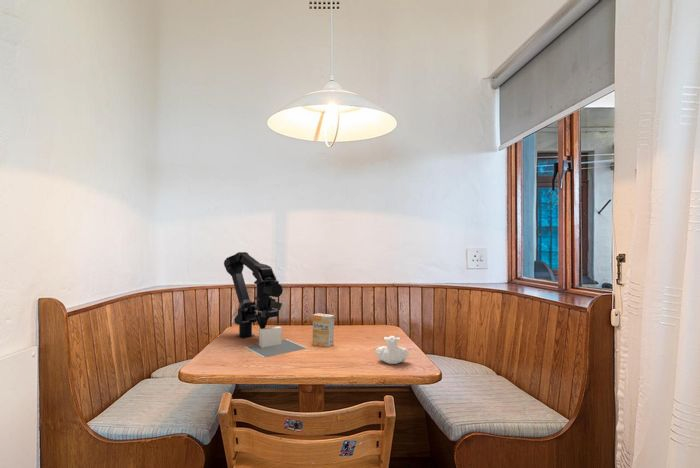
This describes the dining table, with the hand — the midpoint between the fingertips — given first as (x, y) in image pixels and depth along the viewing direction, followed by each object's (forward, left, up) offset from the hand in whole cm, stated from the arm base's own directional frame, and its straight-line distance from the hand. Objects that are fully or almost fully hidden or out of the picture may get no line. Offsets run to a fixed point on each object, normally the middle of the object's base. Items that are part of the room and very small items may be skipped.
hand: (262, 330), depth 164 cm
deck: (+7, 0, -5) cm, 9 cm away
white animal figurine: (+54, +25, -5) cm, 60 cm away
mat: (+12, 0, -5) cm, 13 cm away
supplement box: (+20, +18, -5) cm, 28 cm away
